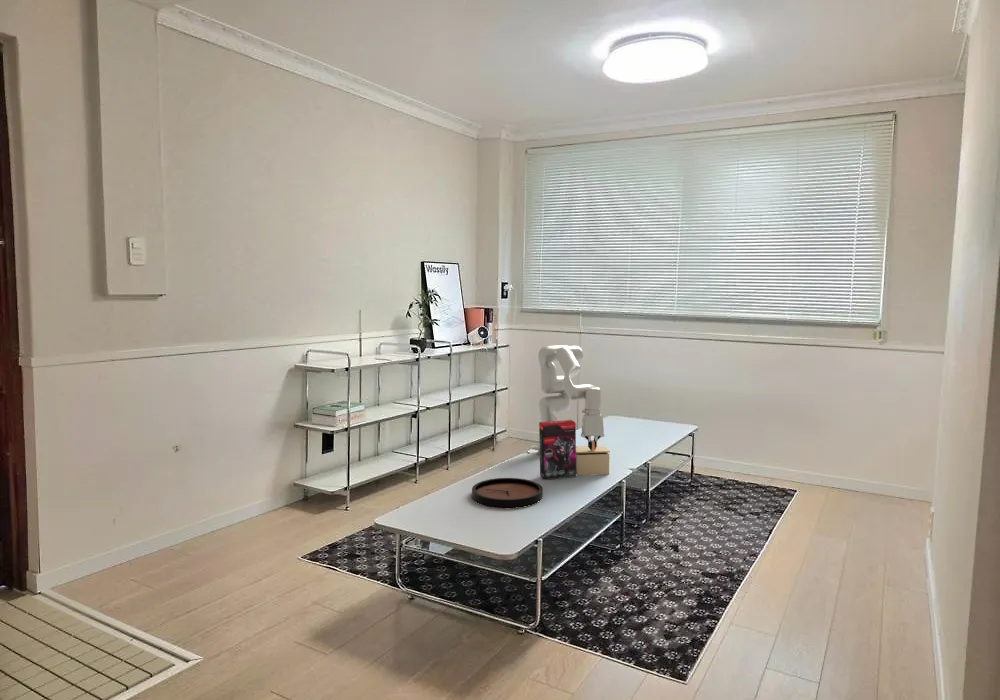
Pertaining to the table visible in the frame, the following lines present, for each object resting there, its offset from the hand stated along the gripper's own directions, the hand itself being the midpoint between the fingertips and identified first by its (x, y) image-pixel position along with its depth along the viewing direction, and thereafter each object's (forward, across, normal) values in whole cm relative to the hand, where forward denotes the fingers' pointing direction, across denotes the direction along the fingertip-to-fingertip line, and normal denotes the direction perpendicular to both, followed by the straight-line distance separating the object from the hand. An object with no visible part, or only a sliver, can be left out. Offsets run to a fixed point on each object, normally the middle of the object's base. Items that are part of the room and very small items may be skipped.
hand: (592, 448), depth 333 cm
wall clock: (+13, -45, -30) cm, 56 cm away
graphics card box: (+13, -18, -4) cm, 22 cm away
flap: (+2, 0, +5) cm, 5 cm away
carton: (+13, 0, +5) cm, 13 cm away
